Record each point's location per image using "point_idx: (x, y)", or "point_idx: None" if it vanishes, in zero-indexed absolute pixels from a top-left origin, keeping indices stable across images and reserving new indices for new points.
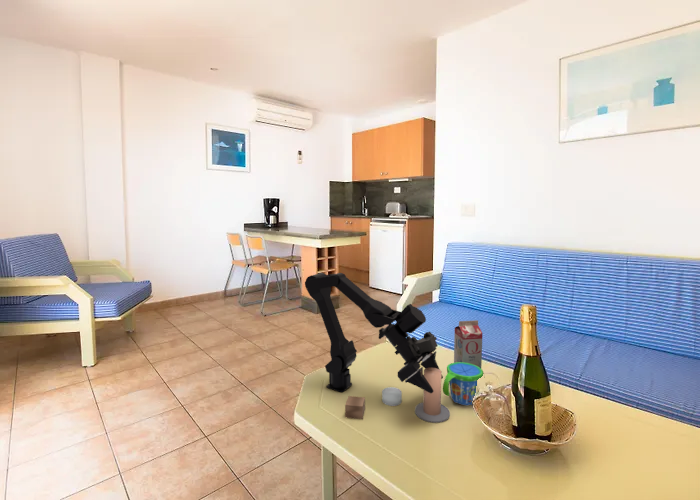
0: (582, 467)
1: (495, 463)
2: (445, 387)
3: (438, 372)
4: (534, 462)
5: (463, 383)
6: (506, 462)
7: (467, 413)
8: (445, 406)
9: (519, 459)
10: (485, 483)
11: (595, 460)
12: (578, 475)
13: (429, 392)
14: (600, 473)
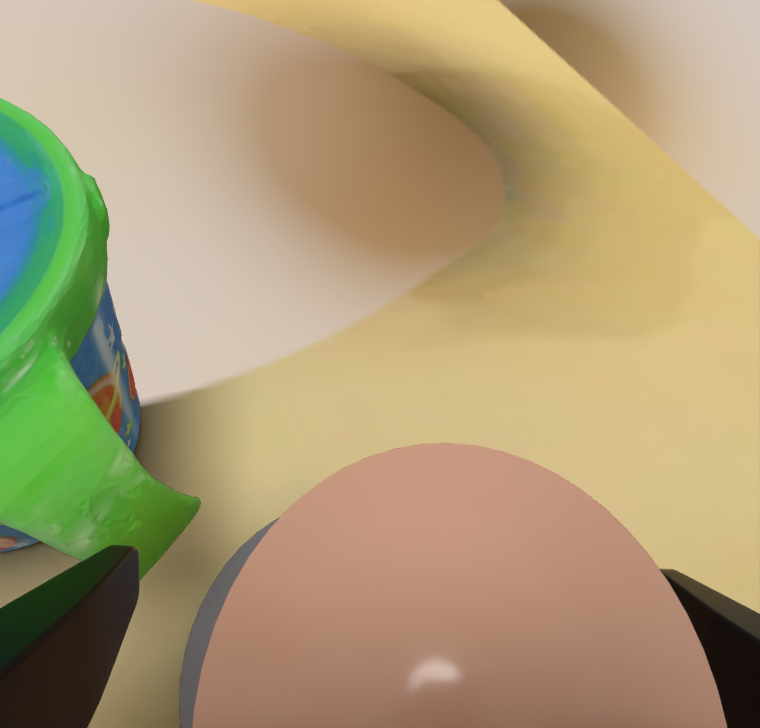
0: (446, 46)
1: (616, 247)
2: (154, 536)
3: (449, 514)
4: (512, 141)
5: (101, 308)
6: (579, 215)
7: (244, 392)
8: (231, 560)
9: (528, 178)
10: (751, 276)
11: (387, 15)
12: (494, 60)
13: None
14: (447, 21)
